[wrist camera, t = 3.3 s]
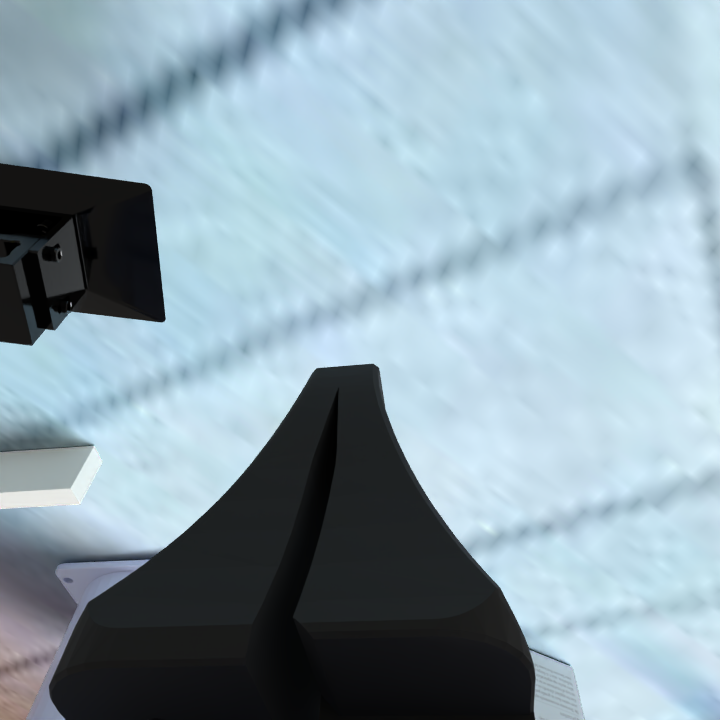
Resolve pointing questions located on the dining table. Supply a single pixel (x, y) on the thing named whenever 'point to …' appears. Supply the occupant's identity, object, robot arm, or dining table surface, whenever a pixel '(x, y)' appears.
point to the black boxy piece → (74, 251)
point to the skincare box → (555, 690)
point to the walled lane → (47, 476)
